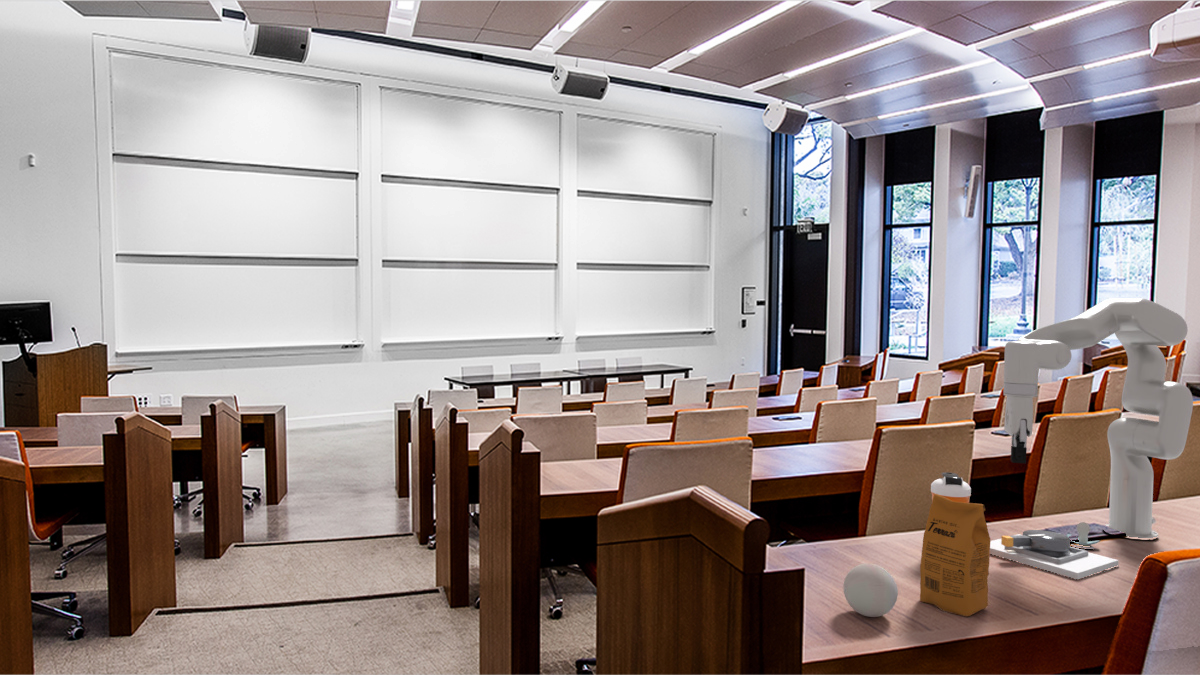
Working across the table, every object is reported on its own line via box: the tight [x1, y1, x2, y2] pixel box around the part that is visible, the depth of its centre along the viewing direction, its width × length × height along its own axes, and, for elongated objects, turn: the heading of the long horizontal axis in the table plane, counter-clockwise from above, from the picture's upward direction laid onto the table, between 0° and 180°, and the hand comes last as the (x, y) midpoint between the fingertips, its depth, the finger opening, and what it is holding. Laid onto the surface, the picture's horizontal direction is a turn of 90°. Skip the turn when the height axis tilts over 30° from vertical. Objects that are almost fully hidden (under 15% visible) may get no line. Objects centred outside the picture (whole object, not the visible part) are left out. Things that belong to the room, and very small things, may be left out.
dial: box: [1000, 529, 1071, 558], centre depth 185 cm, size 16×10×4 cm, turn 97°
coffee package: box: [919, 494, 991, 617], centre depth 155 cm, size 10×12×22 cm
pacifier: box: [1066, 521, 1100, 550], centre depth 196 cm, size 7×6×6 cm
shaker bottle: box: [930, 471, 972, 503], centre depth 187 cm, size 9×9×20 cm
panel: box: [989, 533, 1120, 580], centre depth 186 cm, size 18×24×3 cm
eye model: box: [842, 563, 899, 618], centre depth 150 cm, size 10×10×10 cm
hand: (1018, 462), depth 192 cm, fingers closed
